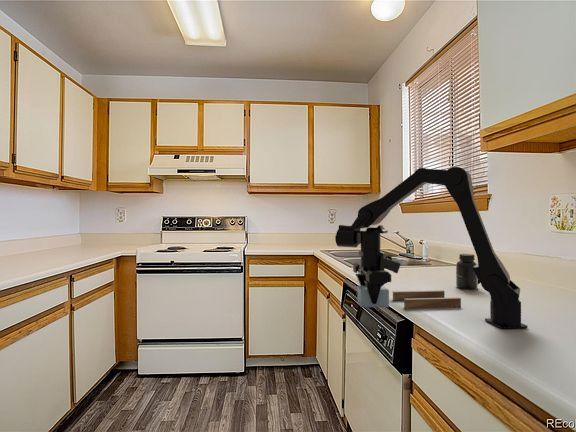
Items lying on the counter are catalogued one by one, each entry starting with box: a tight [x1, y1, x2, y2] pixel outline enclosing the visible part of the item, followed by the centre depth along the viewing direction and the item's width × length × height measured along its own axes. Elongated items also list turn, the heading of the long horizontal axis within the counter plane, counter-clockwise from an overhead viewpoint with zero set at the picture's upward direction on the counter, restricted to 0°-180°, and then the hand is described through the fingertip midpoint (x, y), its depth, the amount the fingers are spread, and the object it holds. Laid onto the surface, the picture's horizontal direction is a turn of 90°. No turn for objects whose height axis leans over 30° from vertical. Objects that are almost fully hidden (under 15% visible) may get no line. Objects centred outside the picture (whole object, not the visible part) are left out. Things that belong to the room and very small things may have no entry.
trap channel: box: [392, 289, 462, 309], centre depth 103 cm, size 10×16×2 cm, turn 93°
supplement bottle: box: [455, 253, 479, 291], centre depth 123 cm, size 7×7×12 cm
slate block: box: [356, 284, 390, 308], centre depth 102 cm, size 6×8×5 cm
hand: (370, 300), depth 102 cm, fingers closed on slate block, 6 cm apart
